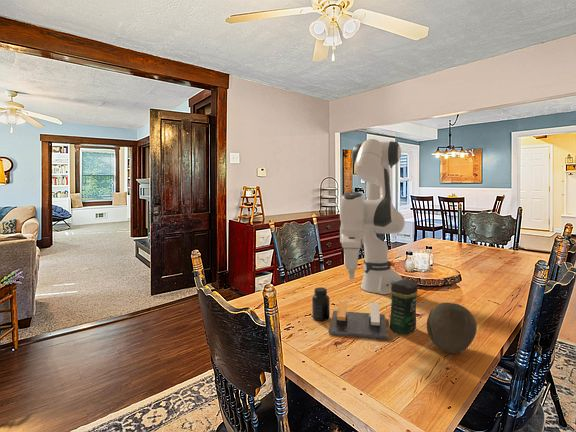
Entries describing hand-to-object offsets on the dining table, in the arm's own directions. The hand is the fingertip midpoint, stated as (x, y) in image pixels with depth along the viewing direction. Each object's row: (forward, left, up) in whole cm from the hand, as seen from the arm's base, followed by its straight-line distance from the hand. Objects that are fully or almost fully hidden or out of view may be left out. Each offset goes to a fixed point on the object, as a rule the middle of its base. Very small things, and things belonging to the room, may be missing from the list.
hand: (352, 273), depth 121 cm
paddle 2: (-7, +4, -15) cm, 18 cm away
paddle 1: (+4, -1, -15) cm, 16 cm away
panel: (-2, +1, -20) cm, 20 cm away
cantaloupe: (-24, +23, -20) cm, 39 cm away
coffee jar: (-16, +8, -20) cm, 27 cm away
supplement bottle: (+10, -8, -20) cm, 24 cm away
